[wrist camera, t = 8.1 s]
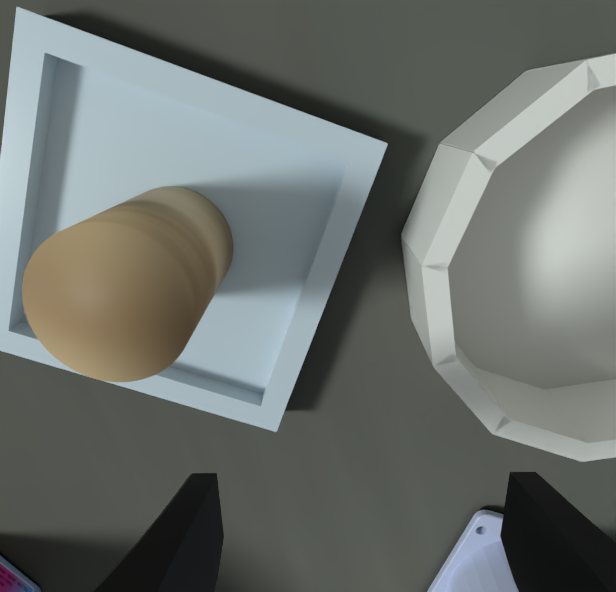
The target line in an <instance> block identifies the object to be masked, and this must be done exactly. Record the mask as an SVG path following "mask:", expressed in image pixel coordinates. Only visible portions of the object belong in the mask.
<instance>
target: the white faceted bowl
mask: <svg viewBox="0 0 616 592" xmlns="http://www.w3.org/2000/svg"><path fill="white" fill-rule="evenodd" d="M440 143H441V144H440ZM440 143H439V146H438V148H437V151H436V153H435V155H434V158H433V160H432V162H431V165H430V167H429V169H428V172H427V174H426V176H425V179H424V181H423V183H422V186H421V188H420V191H419V193H418V195H417V198H416V200H415V202H414V205H413V207H412V209H411V212H410V214H409V216H408V219H407V221H406V223H405V226H404V228H403V231H402V233H401V242H402V250H403V258H404V265H405V273H406V281H407V289H408V297H409V304H410V312H411V319H412V321H413V323H414V325H415V328H416V330H417V332H418V334H419V336H420V339H421V341H422V343H423V345H424V348H425V350H426V352H427V354H428V356H429V359H430V361H431V363H432V365H433V367H434V368H435V369H436V371H437V372H438V373H439V374H440V375H441V376H442V377H443V379H444V380H445V381H446V382H447V383H448V384H449V385H450V386H451V388H452V389H453V390H454V391H455V392H456V393H457V394H458V396H459V397H460V398H461V399H462V400H463V401H464V402H465V404H466V405H467V406H468V407H469V408H470V409H471V410H472V412H473V413H474V414H475V415H476V416H477V417H478V418H479V420H480V421H481V422H482V423H483V424H484V425H485V426H486V428H487V429H488V430H489V431H490V432H491V433H492V434H494V435H497V436H500V437H503V438H507V439H510V440H513V441H516V442H519V443H523V444H526V445H529V446H532V447H536V448H539V449H542V450H545V451H549V452H552V453H555V454H558V455H561V456H565V457H568V458H571V459H574V460H578V461H581V462H584V461H592V460H599V459H606V458H613V457H616V52H614V53H609V54H604V55H599V56H595V57H590V58H585V59H580V60H575V61H570V62H566V63H561V64H556V65H551V66H546V67H541V68H537V69H532V70H527V71H525V72H524V73H523V74H522V75H520V76H519V77H518V78H517V79H516V80H514V81H513V82H512V83H511V84H510V85H509V86H507V87H506V88H505V89H504V90H503V91H501V92H500V93H499V94H498V95H497V96H495V97H494V98H493V99H492V100H491V101H489V102H488V103H487V104H486V105H485V106H483V107H482V108H481V109H480V110H479V111H477V112H476V113H475V114H474V115H473V116H471V117H470V118H469V119H468V120H467V121H465V122H464V123H463V124H462V125H461V126H459V127H458V128H457V129H456V130H455V131H453V132H452V133H451V134H450V135H449V136H447V137H446V138H445V139H444V140H443V141H441V142H440Z"/></svg>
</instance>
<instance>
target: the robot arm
mask: <svg viewBox="0 0 616 592" xmlns="http://www.w3.org/2000/svg"><path fill="white" fill-rule="evenodd" d="M481 526H482V527H481ZM478 527H481V528H478ZM223 538H224V534H223V525H222V516H221V508H220V499H219V490H218V481H217V473H192V474H191V475H190V476H189V477H188V478H187V480H186V481H185V482H184V484H183V485H182V487H181V488H180V489H179V491H178V492H177V493H176V495H175V496H174V497H173V499H172V500H171V501H170V503H169V504H168V505H167V506H166V508H165V509H164V510H163V512H162V513H161V514H160V515H159V517H158V518H157V519H156V520H155V522H154V523H153V524H152V525H151V526H150V528H149V529H148V530H147V531H146V532H145V534H144V535H143V536H142V537H141V539H140V540H139V541H138V542H137V543H136V544H135V546H134V547H133V548H132V549H131V550H130V551H129V552H128V553H127V555H126V556H125V557H124V558H123V559H122V560H121V561H120V562H119V563H118V564H117V566H116V567H115V568H114V569H113V570H112V571H111V572H110V573H109V574H108V575H107V576H106V578H105V579H104V580H103V581H102V582H101V583H100V584H99V585H98V586H97V587H96V588H95V589H94V590H93V591H92V592H214V589H215V585H216V581H217V576H218V570H219V564H220V558H221V551H222V545H223ZM427 592H616V543H615V542H614V541H613V540H612V539H610V538H609V537H608V536H607V535H606V534H605V533H603V532H602V531H601V530H600V529H599V528H598V527H596V526H595V525H594V524H593V523H592V522H591V521H590V520H588V519H587V518H586V517H585V516H584V515H583V514H582V513H581V512H579V511H578V510H577V509H576V508H575V507H574V506H573V505H572V504H571V503H569V502H568V501H567V500H566V499H565V498H564V497H563V496H562V495H561V494H560V493H558V492H557V491H556V490H555V489H554V488H553V487H552V486H551V485H550V484H548V483H547V482H546V481H545V480H544V479H543V478H542V477H541V476H539V475H538V474H537V473H536V472H510V475H509V482H508V488H507V495H506V501H505V508H504V515H503V514H500V513H497V512H493V511H490V510H480V511H478V512H476V513H475V515H474V516H473V518H472V519H471V521H470V523H469V524H468V526H467V527H466V529H465V531H464V532H463V534H462V536H461V537H460V539H459V540H458V542H457V544H456V545H455V547H454V549H453V550H452V552H451V553H450V555H449V557H448V558H447V560H446V561H445V563H444V565H443V566H442V568H441V570H440V571H439V573H438V574H437V576H436V578H435V579H434V581H433V583H432V584H431V586H430V587H429V589H428V591H427Z"/></svg>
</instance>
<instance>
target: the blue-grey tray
mask: <svg viewBox="0 0 616 592" xmlns="http://www.w3.org/2000/svg"><path fill="white" fill-rule="evenodd" d="M387 145H388V143H386V142H384V141H381V140H379V139H376V138H373V137H370V136H368V135H365V134H362V133H360V132H357V131H354V130H352V129H349V128H346V127H343V126H341V125H338V124H335V123H333V122H330V121H327V120H324V119H322V118H319V117H316V116H314V115H311V114H308V113H305V112H303V111H300V110H297V109H295V108H292V107H289V106H286V105H284V104H281V103H278V102H276V101H273V100H270V99H267V98H265V97H262V96H259V95H257V94H254V93H251V92H248V91H246V90H243V89H240V88H238V87H235V86H232V85H229V84H227V83H224V82H221V81H219V80H216V79H213V78H211V77H208V76H205V75H202V74H200V73H197V72H194V71H192V70H189V69H186V68H183V67H181V66H178V65H175V64H173V63H170V62H167V61H164V60H162V59H159V58H156V57H154V56H151V55H148V54H145V53H143V52H140V51H137V50H135V49H132V48H129V47H126V46H124V45H121V44H118V43H116V42H113V41H110V40H107V39H105V38H102V37H99V36H97V35H94V34H91V33H89V32H86V31H83V30H80V29H78V28H75V27H72V26H70V25H67V24H64V23H61V22H59V21H56V20H53V19H51V18H48V17H45V16H42V15H40V14H37V13H34V12H31V11H28V10H25V9H22V8H19V7H17V8H16V17H15V27H14V36H13V45H12V55H11V64H10V73H9V83H8V92H7V101H6V110H5V120H4V129H3V138H2V148H1V157H0V351H3V352H7V353H10V354H13V355H17V356H20V357H24V358H27V359H30V360H34V361H37V362H41V363H44V364H47V365H51V366H54V367H58V368H61V369H64V370H68V371H71V372H75V373H78V372H76V371H74V370H72V369H71V368H69V367H67V366H66V365H64V364H63V363H61V362H60V361H59V360H58V359H56V358H55V357H54V356H53V355H52V354H51V353H50V352H49V351H48V350H47V349H46V348H45V347H44V346H43V345H42V344H41V342H40V341H39V340H38V338H37V337H36V335H35V334H34V332H33V330H32V328H31V326H30V324H29V322H28V319H27V317H26V314H25V310H24V306H23V300H22V281H23V277H24V272H25V269H26V267H27V264H28V262H29V260H30V258H31V256H32V255H33V253H34V252H35V251H36V249H37V248H38V247H39V246H40V245H41V244H42V243H43V242H44V241H45V240H47V239H48V238H49V237H51V236H52V235H54V234H56V233H57V232H59V231H62V230H64V229H66V228H68V227H70V226H72V225H75V224H77V223H79V222H81V221H83V220H86V219H88V218H90V217H92V216H94V215H96V214H99V213H101V212H103V211H105V210H107V209H109V208H112V207H114V206H116V205H118V204H120V203H122V202H125V201H127V200H129V199H131V198H133V197H135V196H138V195H140V194H142V193H144V192H146V191H149V190H151V189H154V188H158V187H164V186H177V187H183V188H187V189H190V190H193V191H195V192H198V193H199V194H201V195H203V196H205V197H206V198H207V199H209V200H210V201H211V202H212V203H213V204H215V205H216V206H217V208H218V209H219V210H220V211H221V212H222V214H223V215H224V217H225V219H226V220H227V222H228V225H229V227H230V230H231V233H232V238H233V257H232V262H231V264H230V267H229V269H228V271H227V273H226V275H225V277H224V279H223V280H222V282H221V284H220V286H219V288H218V289H217V291H216V293H215V295H214V297H213V298H212V300H211V302H210V304H209V305H208V307H207V309H206V311H205V313H204V314H203V316H202V318H201V320H200V322H199V323H198V325H197V327H196V329H195V331H194V332H193V334H192V336H191V338H190V340H189V341H188V343H187V345H186V347H185V349H184V350H183V352H182V353H181V354H180V356H179V357H178V358H177V359H176V360H175V361H174V362H173V363H172V364H171V365H170V366H169V367H167V368H166V369H165V370H163V371H162V372H160V373H158V374H156V375H154V376H151V377H149V378H146V379H142V380H138V381H132V382H109V381H105V382H108V383H112V384H115V385H119V386H122V387H125V388H129V389H132V390H136V391H139V392H142V393H146V394H149V395H153V396H156V397H159V398H163V399H166V400H170V401H173V402H176V403H180V404H183V405H186V406H190V407H193V408H197V409H200V410H203V411H207V412H210V413H214V414H217V415H220V416H224V417H227V418H231V419H234V420H237V421H241V422H244V423H248V424H251V425H254V426H258V427H261V428H265V429H268V430H271V431H275V432H276V431H277V429H278V426H279V424H280V421H281V419H282V416H283V413H284V411H285V408H286V406H287V403H288V401H289V398H290V395H291V393H292V390H293V388H294V385H295V382H296V380H297V377H298V375H299V372H300V370H301V367H302V364H303V362H304V359H305V357H306V354H307V352H308V349H309V346H310V344H311V341H312V339H313V336H314V333H315V331H316V328H317V326H318V323H319V321H320V318H321V315H322V313H323V310H324V308H325V305H326V303H327V300H328V297H329V295H330V292H331V290H332V287H333V284H334V282H335V279H336V277H337V274H338V272H339V269H340V266H341V264H342V261H343V259H344V256H345V253H346V251H347V248H348V246H349V243H350V241H351V238H352V235H353V233H354V230H355V228H356V225H357V223H358V220H359V217H360V215H361V212H362V210H363V207H364V204H365V202H366V199H367V197H368V194H369V192H370V189H371V186H372V184H373V181H374V179H375V176H376V174H377V171H378V168H379V166H380V163H381V161H382V158H383V155H384V153H385V150H386V148H387ZM78 374H81V373H78ZM81 375H83V374H81ZM102 381H103V380H102Z"/></svg>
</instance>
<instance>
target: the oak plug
mask: <svg viewBox="0 0 616 592" xmlns="http://www.w3.org/2000/svg"><path fill="white" fill-rule="evenodd" d="M232 257H233V238H232V233H231V230H230V227H229V225H228V222H227V220H226V219H225V217H224V215H223V214H222V212H221V211H220V210H219V209H218V208H217V206H216V205H215V204H213V203H212V202H211V201H210V200H209V199H207V198H206V197H205V196H203V195H201V194H199V193H198V192H195V191H193V190H190V189H187V188H183V187H177V186H164V187H158V188H154V189H151V190H149V191H146V192H144V193H142V194H140V195H138V196H135V197H133V198H131V199H129V200H127V201H125V202H122V203H120V204H118V205H116V206H114V207H112V208H109V209H107V210H105V211H103V212H101V213H99V214H96V215H94V216H92V217H90V218H88V219H86V220H83V221H81V222H79V223H77V224H75V225H72V226H70V227H68V228H66V229H64V230H62V231H59V232H57V233H56V234H54V235H52V236H51V237H49V238H48V239H47V240H45V241H44V242H43V243H42V244H41V245H40V246H39V247H38V248H37V249H36V251H35V252H34V253H33V255H32V256H31V258H30V260H29V262H28V264H27V267H26V269H25V272H24V277H23V281H22V300H23V306H24V310H25V314H26V317H27V319H28V322H29V324H30V326H31V328H32V330H33V332H34V334H35V335H36V337H37V338H38V340H39V341H40V342H41V344H42V345H43V346H44V347H45V348H46V349H47V350H48V351H49V352H50V353H51V354H52V355H53V356H54V357H55V358H56V359H58V360H59V361H60V362H61V363H63V364H64V365H66V366H67V367H69V368H71V369H72V370H74V371H76V372H78V373H81V374H83V375H85V376H88V377H91V378H94V379H98V380H103V381H109V382H132V381H138V380H142V379H146V378H149V377H151V376H154V375H156V374H158V373H160V372H162V371H163V370H165V369H166V368H167V367H169V366H170V365H171V364H172V363H173V362H174V361H175V360H176V359H177V358H178V357H179V356H180V354H181V353H182V352H183V350H184V349H185V347H186V345H187V343H188V341H189V340H190V338H191V336H192V334H193V332H194V331H195V329H196V327H197V325H198V323H199V322H200V320H201V318H202V316H203V314H204V313H205V311H206V309H207V307H208V305H209V304H210V302H211V300H212V298H213V297H214V295H215V293H216V291H217V289H218V288H219V286H220V284H221V282H222V280H223V279H224V277H225V275H226V273H227V271H228V269H229V267H230V264H231V262H232Z"/></svg>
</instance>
